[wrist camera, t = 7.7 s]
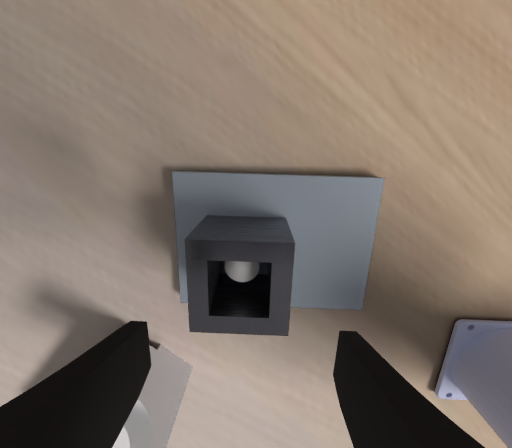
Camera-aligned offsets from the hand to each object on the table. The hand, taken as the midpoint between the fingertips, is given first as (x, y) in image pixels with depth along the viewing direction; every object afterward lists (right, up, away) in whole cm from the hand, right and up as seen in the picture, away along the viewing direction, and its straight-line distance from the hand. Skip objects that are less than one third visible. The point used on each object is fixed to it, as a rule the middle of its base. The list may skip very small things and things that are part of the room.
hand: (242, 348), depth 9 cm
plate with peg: (+2, +3, +9) cm, 10 cm away
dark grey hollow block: (0, +3, +8) cm, 9 cm away
